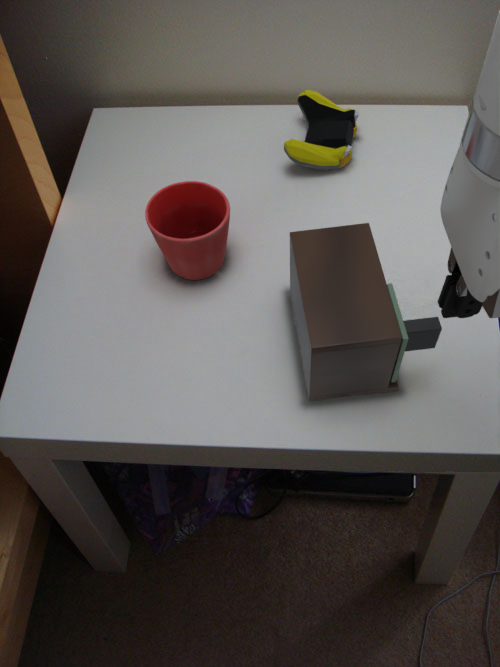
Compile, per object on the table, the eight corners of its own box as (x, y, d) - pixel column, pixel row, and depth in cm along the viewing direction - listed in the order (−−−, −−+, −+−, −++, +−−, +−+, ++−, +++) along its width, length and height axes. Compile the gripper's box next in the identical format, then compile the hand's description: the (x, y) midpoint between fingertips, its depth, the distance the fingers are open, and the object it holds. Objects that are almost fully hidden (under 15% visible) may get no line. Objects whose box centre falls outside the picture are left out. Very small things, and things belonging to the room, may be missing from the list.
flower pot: (201, 218, 88) (191, 167, 80) (251, 259, 83) (246, 208, 75) (143, 258, 84) (127, 208, 76) (192, 302, 80) (181, 255, 72)
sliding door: (413, 325, 74) (428, 278, 66) (429, 378, 70) (447, 334, 62) (376, 330, 74) (386, 283, 66) (390, 382, 70) (403, 339, 62)
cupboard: (369, 284, 79) (380, 221, 69) (397, 390, 71) (415, 335, 61) (290, 293, 79) (289, 231, 69) (308, 401, 71) (311, 348, 61)
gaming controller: (281, 176, 92) (346, 183, 90) (281, 147, 87) (349, 154, 85) (299, 114, 100) (359, 119, 98) (299, 84, 95) (363, 90, 93)
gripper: (646, 215, 32) (531, 379, 48) (543, 57, 41) (473, 240, 56) (509, 231, 32) (438, 390, 48) (434, 69, 41) (394, 249, 56)
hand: (457, 308), depth 52 cm, fingers closed
